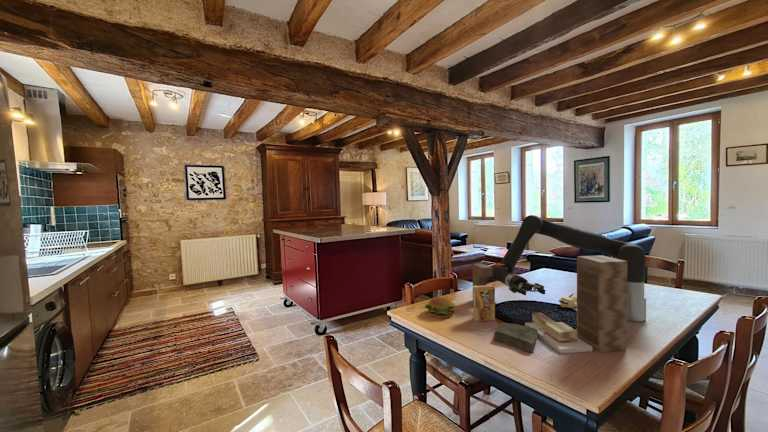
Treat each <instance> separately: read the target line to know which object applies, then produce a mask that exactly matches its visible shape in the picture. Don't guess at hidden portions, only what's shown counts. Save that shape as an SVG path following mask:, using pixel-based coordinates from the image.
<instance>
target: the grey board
mask: <svg viewBox="0 0 768 432" xmlns="http://www.w3.org/2000/svg"><path fill="white" fill-rule="evenodd" d="M524 326H527V327H531V328H534V329H537V330H538V335H537V338H539V339H541V340H542V341H544V342H545V343H546V344H548V345H549V346H550V347H551V348H553V350H555V351H557V353H559V354H567V353H568V354H570V353H584V352H585V353H586V352H593V347H592V346H590V345H588V344H587V343H585V342H584V341H582V340H581V339H579V338H577V342H567V343H558V342H557V341H556V340H554V339H553V338H551V337H550V336H549V335H547V334H546V333H545V329H543V328H542V327H540V326H539V325H537V324H536V323H535V322H533V321H531V322H525V323H524Z"/></svg>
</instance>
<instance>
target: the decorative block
mask: <svg viewBox="0 0 768 432" xmlns="http://www.w3.org/2000/svg"><path fill="white" fill-rule="evenodd" d="M492 269H493V267H492V266H489V265H487V264H484V263H473V264H472V287H473V286H482V285H488V284H487V282H488V279H489V278H491V277H492Z"/></svg>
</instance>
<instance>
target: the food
mask: <svg viewBox="0 0 768 432" xmlns="http://www.w3.org/2000/svg"><path fill="white" fill-rule="evenodd" d="M424 308H425V309H427V310H428V315H430V316H431V317H433V318H437V319H446V318H450V317H452V316H453V315H454V313H455V310H456V304H455V303H453V302H452V300H451V299H450V298H448V297H445V296H436V297H432V298H431V299H430V300H429V301H428V302H426V303H425V304H424Z"/></svg>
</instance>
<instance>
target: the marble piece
mask: <svg viewBox="0 0 768 432" xmlns="http://www.w3.org/2000/svg"><path fill="white" fill-rule="evenodd" d="M493 334H494V335H493V338H494V340H496V341H497V342H498V343H501V344H503V345H506V346H508V347H513V348H515V349H518V350H520V351H523V352H526V353H530V354H532V353H534V350H535V348H536V345H537V344H536V343H537V340H538V336H537V335H538V330H537V329H534V328H531V327H527V326H525V325H523V324H518V323H509V322H500V323H499V325H498V326H497V328H496V329H495V331H494V333H493Z"/></svg>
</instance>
